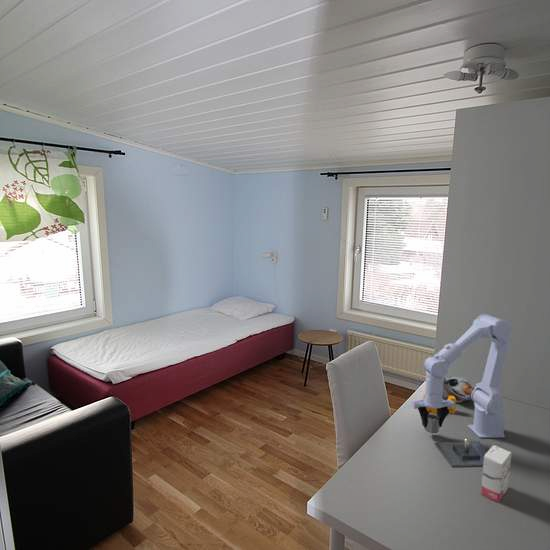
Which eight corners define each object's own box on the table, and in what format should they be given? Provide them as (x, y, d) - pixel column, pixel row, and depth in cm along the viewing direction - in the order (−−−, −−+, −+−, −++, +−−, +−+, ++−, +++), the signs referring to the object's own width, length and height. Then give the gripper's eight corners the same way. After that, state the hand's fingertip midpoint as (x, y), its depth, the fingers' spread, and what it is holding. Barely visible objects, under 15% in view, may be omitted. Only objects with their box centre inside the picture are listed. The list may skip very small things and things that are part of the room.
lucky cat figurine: (474, 396, 166) (485, 376, 157) (467, 415, 158) (477, 396, 150) (440, 379, 173) (449, 360, 165) (432, 397, 165) (440, 378, 157)
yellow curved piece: (425, 414, 151) (426, 399, 150) (422, 409, 155) (423, 394, 154) (456, 415, 150) (457, 400, 149) (452, 410, 154) (453, 395, 153)
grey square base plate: (479, 443, 131) (480, 428, 130) (500, 465, 119) (502, 449, 118) (434, 444, 130) (435, 429, 129) (451, 466, 118) (452, 450, 118)
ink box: (498, 503, 103) (502, 464, 101) (479, 493, 107) (483, 456, 105) (508, 488, 109) (512, 451, 107) (490, 479, 112) (493, 444, 111)
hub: (435, 425, 137) (435, 413, 137) (441, 433, 133) (441, 420, 132) (422, 426, 137) (422, 413, 136) (427, 433, 132) (428, 420, 132)
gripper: (448, 385, 137) (445, 419, 139) (409, 386, 136) (407, 420, 138) (458, 394, 130) (455, 430, 132) (417, 395, 129) (415, 431, 131)
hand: (431, 425), depth 135 cm, fingers closed on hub, 5 cm apart
